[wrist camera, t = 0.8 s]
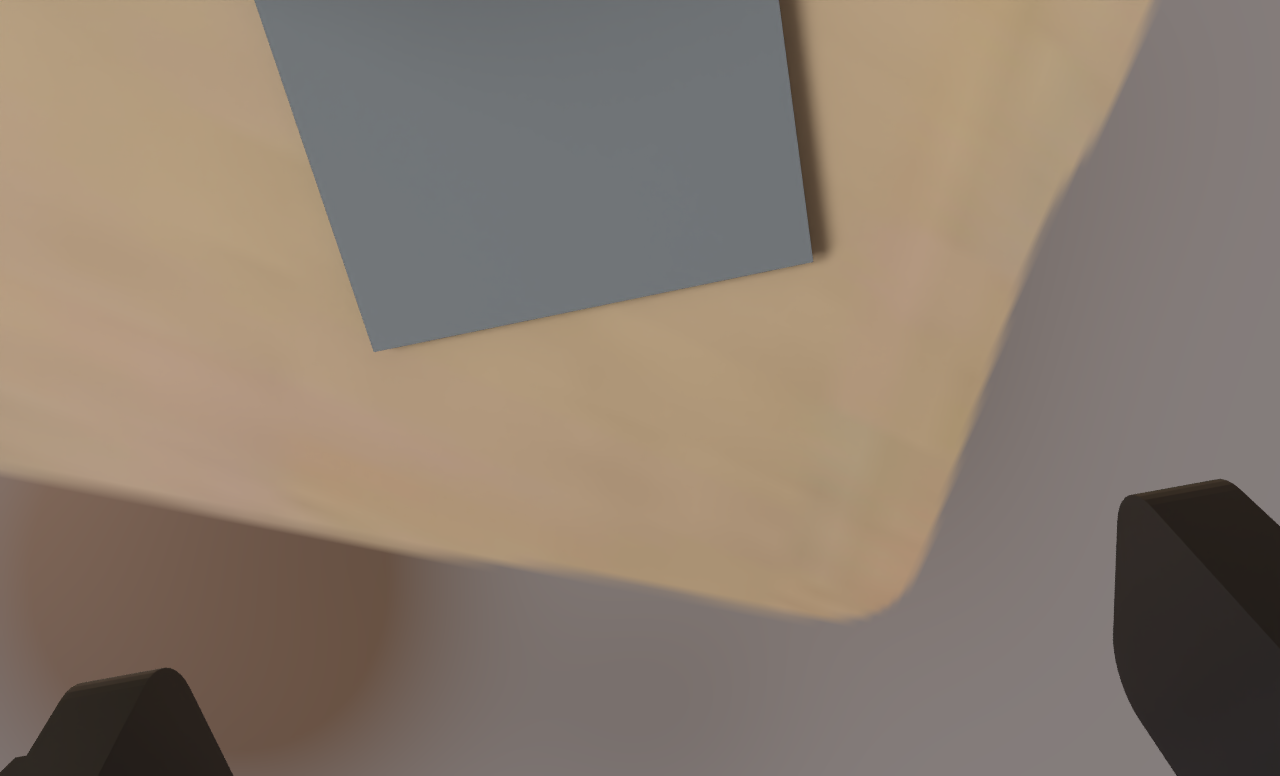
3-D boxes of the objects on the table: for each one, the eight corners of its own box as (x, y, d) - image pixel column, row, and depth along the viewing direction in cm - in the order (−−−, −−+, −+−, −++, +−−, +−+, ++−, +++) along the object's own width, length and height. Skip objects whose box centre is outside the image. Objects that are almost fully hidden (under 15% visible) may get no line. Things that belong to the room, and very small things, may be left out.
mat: (215, -137, 27) (207, -138, 27) (741, -255, 27) (744, -258, 26) (377, 344, 33) (373, 352, 33) (809, 255, 33) (813, 261, 32)
